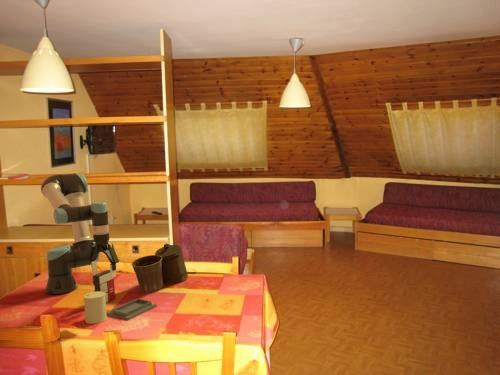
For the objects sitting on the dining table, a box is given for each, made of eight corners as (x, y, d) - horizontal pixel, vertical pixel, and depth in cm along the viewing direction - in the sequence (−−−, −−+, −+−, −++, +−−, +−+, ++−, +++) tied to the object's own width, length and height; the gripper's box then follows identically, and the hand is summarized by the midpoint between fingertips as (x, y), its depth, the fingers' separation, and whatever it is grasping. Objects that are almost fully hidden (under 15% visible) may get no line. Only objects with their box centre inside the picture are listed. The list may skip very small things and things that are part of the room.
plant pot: (132, 296, 217) (127, 268, 214) (140, 283, 233) (135, 256, 230) (163, 293, 217) (159, 264, 214) (168, 280, 233) (164, 253, 230)
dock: (106, 314, 192) (106, 309, 192) (135, 301, 207) (135, 297, 207) (128, 320, 185) (127, 314, 185) (156, 306, 200) (156, 301, 200)
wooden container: (188, 270, 245) (179, 236, 239) (187, 282, 231) (178, 246, 224) (163, 275, 244) (154, 241, 238) (161, 288, 230) (151, 252, 224)
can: (88, 316, 191) (87, 290, 190) (109, 314, 192) (107, 289, 191) (82, 324, 182) (80, 297, 181) (104, 323, 183) (102, 296, 182)
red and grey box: (101, 306, 203) (99, 276, 202) (94, 305, 204) (92, 275, 203) (116, 298, 213) (114, 270, 212) (109, 297, 215) (107, 269, 213)
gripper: (78, 233, 209) (81, 274, 210) (112, 236, 196) (115, 280, 198) (90, 230, 215) (93, 270, 217) (124, 233, 202) (127, 276, 204)
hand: (104, 275), depth 207 cm, fingers open, 13 cm apart
